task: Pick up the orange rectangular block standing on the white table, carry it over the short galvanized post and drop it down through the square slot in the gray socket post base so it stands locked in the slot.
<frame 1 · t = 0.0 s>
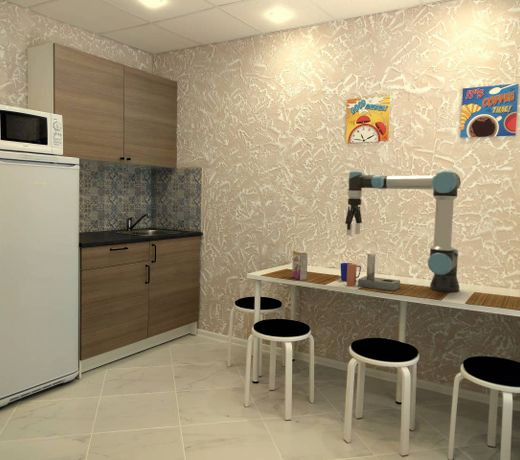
hand: (353, 234, 267), 28 cm above the table, fingers open, 13 cm apart
orange rectangular block: (351, 285, 261), on the table
candy bar box: (299, 278, 278), on the table
gray socket post base: (378, 286, 258), on the table
mug: (350, 280, 276), on the table
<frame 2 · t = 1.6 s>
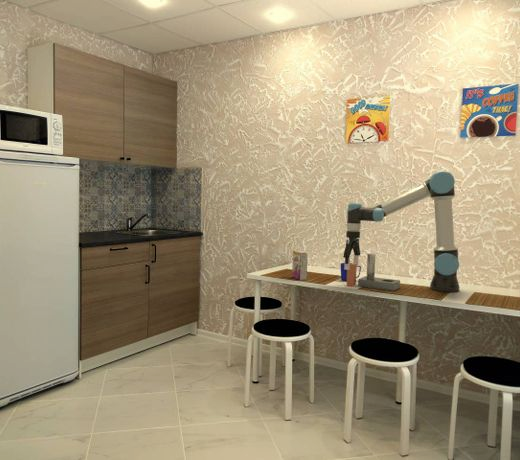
hand: (351, 268, 260), 10 cm above the table, fingers open, 13 cm apart
nothing on the table moved.
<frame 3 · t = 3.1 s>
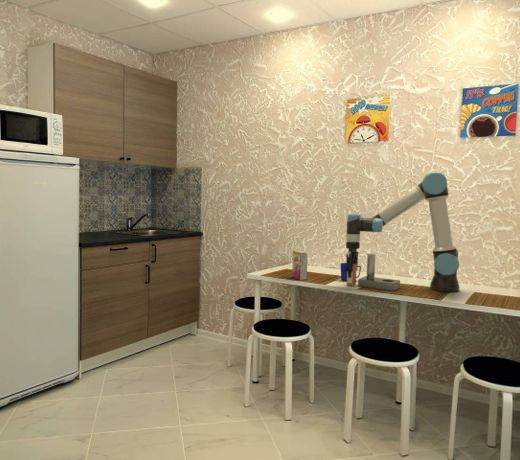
hand: (351, 282, 260), 2 cm above the table, fingers closed on orange rectangular block, 4 cm apart
orange rectangular block: (351, 285, 261), on the table, touching gripper
everything else where it was.
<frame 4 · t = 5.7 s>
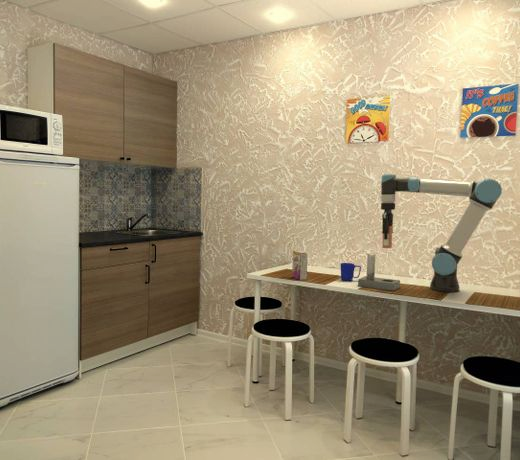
hand: (387, 244, 254), 24 cm above the table, fingers closed on orange rectangular block, 4 cm apart
orange rectangular block: (387, 247, 254), point 22 cm above the table, touching gripper
everything else where it was.
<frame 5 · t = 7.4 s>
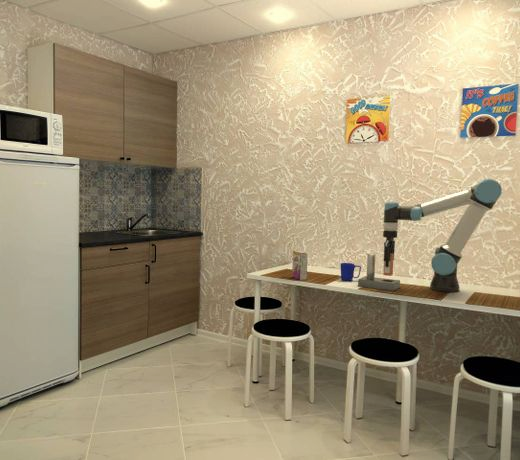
hand: (388, 272, 255), 9 cm above the table, fingers closed on orange rectangular block, 4 cm apart
orange rectangular block: (388, 275, 255), point 7 cm above the table, touching gripper
everything else where it was.
when the fingers open (4 cm above the table, at t = 8.6 s): orange rectangular block drops 3 cm, resting in gray socket post base.
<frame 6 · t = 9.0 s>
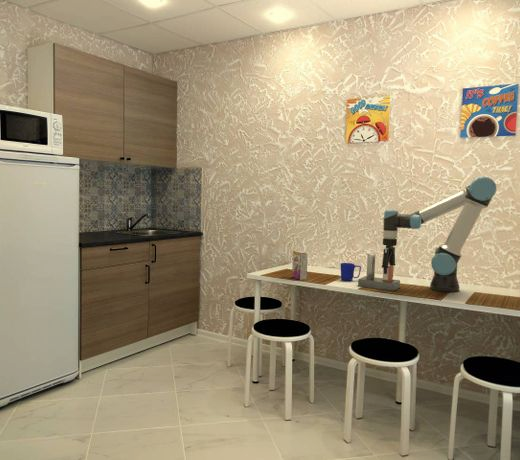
hand: (388, 278, 255), 5 cm above the table, fingers open, 9 cm apart
orange rectangular block: (387, 287, 256), resting in gray socket post base
everything else where it was.
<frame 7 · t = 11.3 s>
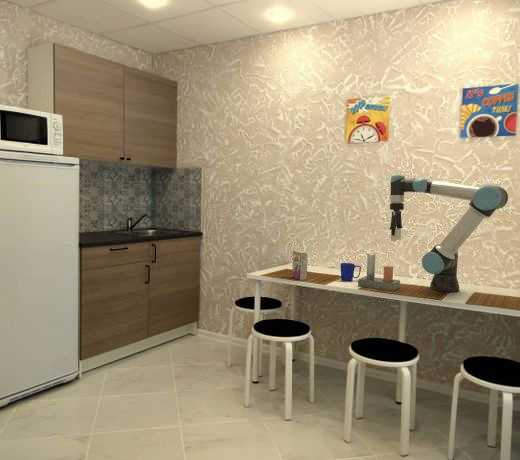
hand: (395, 240, 259), 26 cm above the table, fingers open, 13 cm apart
nothing on the table moved.
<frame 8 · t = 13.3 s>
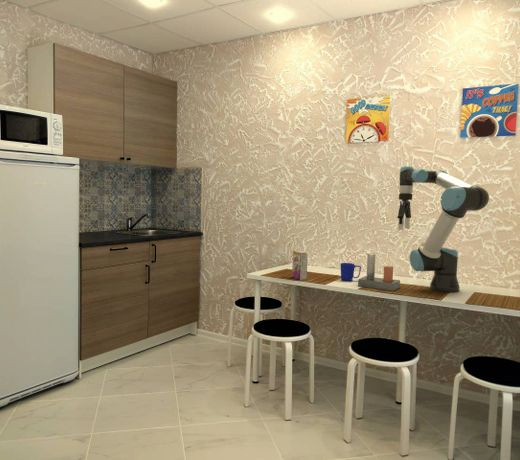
hand: (403, 229, 270), 32 cm above the table, fingers open, 13 cm apart
nothing on the table moved.
at the end: orange rectangular block 0.0 cm from the target spot on the gray socket post base, point 0.0 cm above the gray socket post base's base; orange rectangular block tilted 0°; the gripper is holding nothing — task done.
